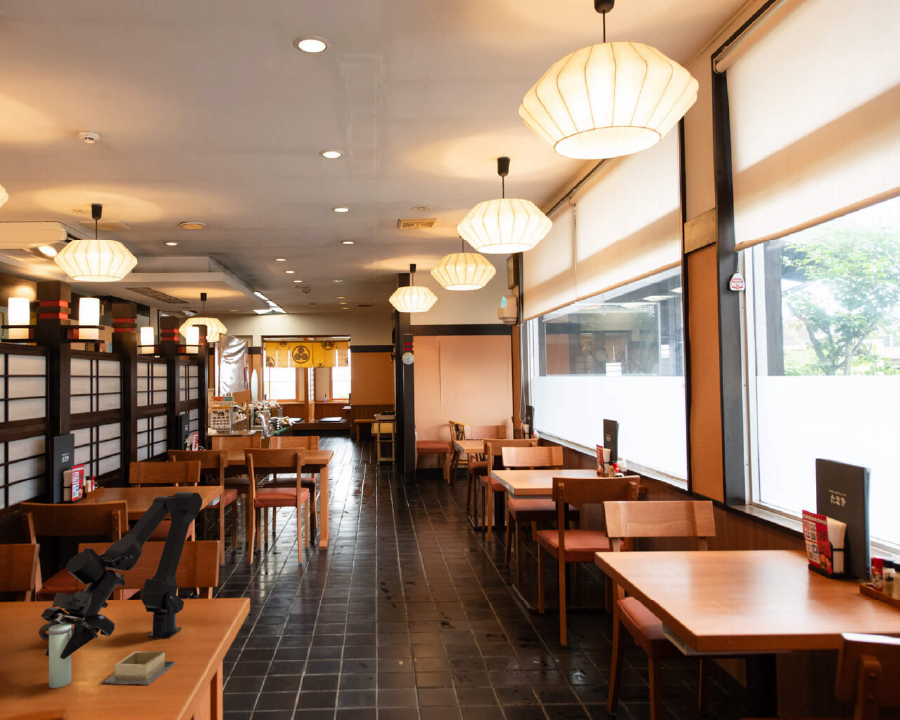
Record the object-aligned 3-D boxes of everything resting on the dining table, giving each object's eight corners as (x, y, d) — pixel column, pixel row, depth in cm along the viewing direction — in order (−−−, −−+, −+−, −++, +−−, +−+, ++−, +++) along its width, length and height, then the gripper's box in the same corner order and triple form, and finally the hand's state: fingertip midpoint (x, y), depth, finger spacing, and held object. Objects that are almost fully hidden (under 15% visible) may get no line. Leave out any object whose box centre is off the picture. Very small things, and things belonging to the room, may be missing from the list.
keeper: (132, 663, 157) (132, 648, 157) (174, 664, 156) (174, 649, 156) (103, 683, 146) (103, 667, 146) (148, 685, 145) (148, 669, 145)
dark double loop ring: (75, 633, 179) (88, 608, 179) (84, 656, 173) (98, 630, 173) (29, 635, 170) (42, 609, 170) (37, 660, 164) (51, 633, 164)
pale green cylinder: (58, 678, 150) (58, 622, 150) (76, 679, 149) (76, 623, 150) (43, 688, 145) (43, 630, 145) (62, 688, 144) (62, 630, 145)
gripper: (48, 573, 155) (2, 636, 144) (104, 580, 148) (59, 647, 137) (77, 596, 162) (35, 657, 151) (132, 603, 155) (92, 668, 144)
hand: (54, 657), depth 146 cm, fingers closed on pale green cylinder, 4 cm apart
